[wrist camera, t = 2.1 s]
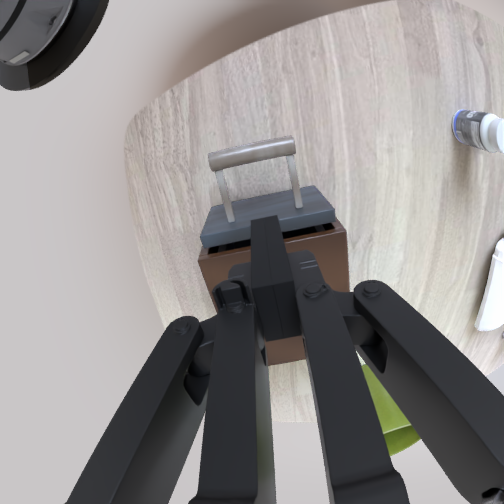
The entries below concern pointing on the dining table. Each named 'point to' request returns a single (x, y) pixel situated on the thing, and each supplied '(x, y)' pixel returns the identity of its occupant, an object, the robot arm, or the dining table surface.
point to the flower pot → (390, 416)
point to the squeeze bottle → (493, 294)
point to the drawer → (263, 199)
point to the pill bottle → (479, 130)
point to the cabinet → (320, 244)
